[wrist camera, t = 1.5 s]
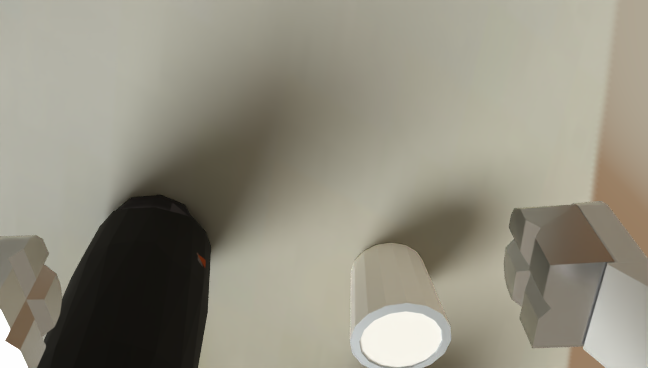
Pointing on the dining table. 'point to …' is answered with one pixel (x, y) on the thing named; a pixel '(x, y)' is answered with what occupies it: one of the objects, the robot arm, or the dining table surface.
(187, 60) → the dining table surface
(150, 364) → the portable speaker
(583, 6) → the dining table surface
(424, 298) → the white cylinder
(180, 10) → the dining table surface
